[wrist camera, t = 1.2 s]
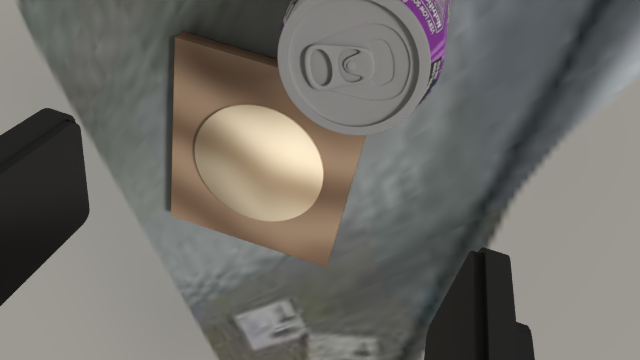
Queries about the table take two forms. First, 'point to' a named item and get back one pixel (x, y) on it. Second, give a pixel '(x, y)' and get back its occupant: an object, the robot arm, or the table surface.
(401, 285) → the table surface
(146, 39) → the table surface
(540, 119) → the table surface
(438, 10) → the beverage can
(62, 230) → the robot arm
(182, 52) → the board
